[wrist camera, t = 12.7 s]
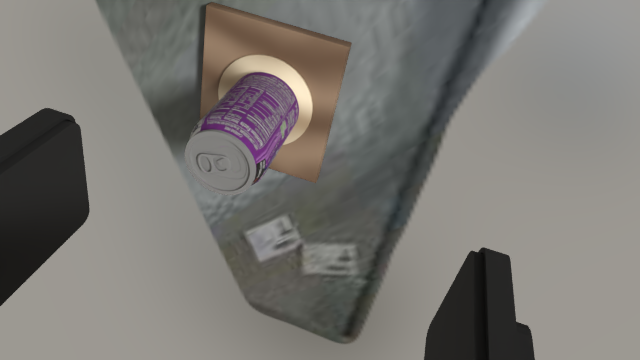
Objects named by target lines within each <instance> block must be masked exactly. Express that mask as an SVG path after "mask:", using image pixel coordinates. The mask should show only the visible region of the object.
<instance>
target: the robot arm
mask: <svg viewBox="0 0 640 360" xmlns="http://www.w3.org/2000/svg"><path fill="white" fill-rule="evenodd" d="M88 215H89V200H88V191H87V183H86V174H85V165H84V156H83V147H82V138H81V129H80V126H79V125H78V124H76V122H75V119H74V118H73V117H72V116H71V115H68V114H66V113H62V112H59V111H56V110H53V109H50V108H45V109H42V110H40V111H39V112H37V113H35V114H34V115H32V116H31V117H29V118H27V119H26V120H24V121H23V122H22V123H20V124H18V125H16V126H15V127H13V128H12V129H10V130H8V131H7V132H5V133H4V134H2V135H0V306H1V305H2V304H3V303H4V302H5V301H6V300H7V299H8V298H9V297H10V296H11V295H12V294H13V293H14V292H15V291H16V290H17V289H18V288H19V287H20V286H21V285H22V284H23V283H24V282H25V281H26V280H27V279H28V278H29V277H30V276H31V275H32V274H33V273H34V272H35V271H36V270H37V269H38V268H39V267H40V266H41V265H42V264H43V263H44V262H45V261H46V260H47V259H48V258H49V257H50V256H51V255H52V254H53V253H54V252H55V251H56V250H57V249H58V248H59V247H60V246H62V245H63V244H64V242H66V240H68V238H70V236H72V235H73V233H75V232H76V231H77V230H78V229H79V228H80V227H81V226H82V225H83V224H84V222H85V221H86V219H87V217H88ZM424 360H535V358H534V350H533V342H532V335H531V331H530V329H529V327H528V326H527V325H524V324H521V323H518V322H516V316H515V306H514V295H513V284H512V273H511V262H510V257H509V256H508V255H506V254H502V253H499V252H496V251H493V250H490V249H487V248H481V249H480V250H479V252H475V251H471V252H470V253H469V254H468V256H467V258H466V260H465V261H464V263H463V265H462V267H461V269H460V271H459V273H458V274H457V276H456V278H455V280H454V282H453V284H452V285H451V287H450V289H449V291H448V293H447V294H446V296H445V298H444V300H443V302H442V304H441V306H440V308H439V310H438V311H437V313H436V315H435V317H434V318H433V320H432V322H431V324H430V326H429V329H428V333H427V337H426V347H425V357H424Z"/></svg>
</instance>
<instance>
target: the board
mask: <svg viewBox="0 0 640 360" xmlns="http://www.w3.org/2000/svg"><path fill="white" fill-rule="evenodd" d="M350 47H351V43H350V42H347V41H344V40H340V39H337V38H333V37H330V36H326V35H323V34H320V33H316V32H313V31H309V30H306V29H302V28H299V27H296V26H292V25H289V24H285V23H282V22H278V21H275V20H272V19H268V18H265V17H261V16H258V15H254V14H251V13H248V12H244V11H241V10H237V9H234V8H230V7H227V6H224V5H220V4H217V3H213V2H211V3H210V4H208V5H206V21H205V38H204V55H203V72H202V89H201V106H200V120H201V119H202V118H203V117H204V116H205V115H206V114H207V113H208V112H209V111H210V110H211V108H212V107H213V106H214V105H215V104H216V103H217V102H218V101H219V100H220V99H221V98H222V97H223V96H224V95H225V94H226V93H227V92H228V91H229V90H230V89H231V88H232V87H233V86H234V85H235V84H236V82H237V81H238V80H239V79H240V78H242V77H243V76H245V75H247V74H250V73H254V72H265V73H269V74H272V75H275V76H277V77H279V78H280V79H282V80H283V81H284V82H285V83H287V84H288V85H289V87H290V88H291V89H292V91H293V92H294V94H295V96H296V98H297V101H298V105H299V116H298V120H297V122H296V124H295V126H294V127H293V129H292V131H291V132H290V134H289V135H288V137H287V139H286V140H285V142H284V143H283V145H282V147H281V148H280V150H279V151H278V153H277V155H276V156H275V158H274V160H273V161H272V163H271V164H270V166H269V168H270V169H273V170H277V171H280V172H283V173H286V174H289V175H292V176H295V177H299V178H302V179H305V180H308V181H311V182H314V183H316V181H317V179H318V177H319V173H320V169H321V165H322V161H323V157H324V153H325V149H326V145H327V140H328V136H329V132H330V128H331V124H332V120H333V116H334V112H335V108H336V104H337V100H338V96H339V92H340V88H341V84H342V80H343V76H344V72H345V68H346V64H347V60H348V55H349V51H350Z"/></svg>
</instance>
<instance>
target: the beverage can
mask: <svg viewBox="0 0 640 360" xmlns="http://www.w3.org/2000/svg"><path fill="white" fill-rule="evenodd" d="M298 116H299V105H298V101H297V98H296V96H295V94H294V92H293V91H292V89H291V88H290V87H289V85H288V84H287V83H285V82H284V81H283V80H282V79H280V78H279V77H277V76H275V75H272V74H269V73H265V72H254V73H250V74H247V75H245V76H243V77H242V78H240V79H239V80H238V81H237V82H236V84H235V85H234V86H233V87H232V88H231V89H230V90H229V91H228V92H227V93H226V94H225V95H224V96H223V97H222V98H221V99H220V100H219V101H218V102H217V103H216V104H215V105H214V106H213V107H212V108H211V110H210V111H209V112H208V113H207V114H206V115H205V116H204V117H203V118H202V119H201V120H200V121H199V122H198V123H197V124H196V125H195V127H194V128H193V130H192V132H191V135H190V139H189V141H188V143H187V145H186V148H185V162H186V165H187V167H188V169H189V171H190V173H191V174H192V176H193V177H194V178H195V179H196V180H197V181H198V182H199V183H200V184H201V185H202V186H204V187H205V188H207V189H208V190H210V191H212V192H215V193H218V194H222V195H236V194H240V193H242V192H244V191H246V190H247V189H248V188H249V187H250V186H251V185H253V184H255V183H257V182H258V181H259V180H260V179H261V178H262V177H263V176H264V174H265V172H266V171H267V169H268V168H269V166H270V164H271V163H272V161H273V160H274V158H275V156H276V155H277V153H278V151H279V150H280V148H281V147H282V145H283V143H284V142H285V140H286V139H287V137H288V135H289V134H290V132H291V131H292V129H293V127H294V126H295V124H296V122H297V120H298Z"/></svg>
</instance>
